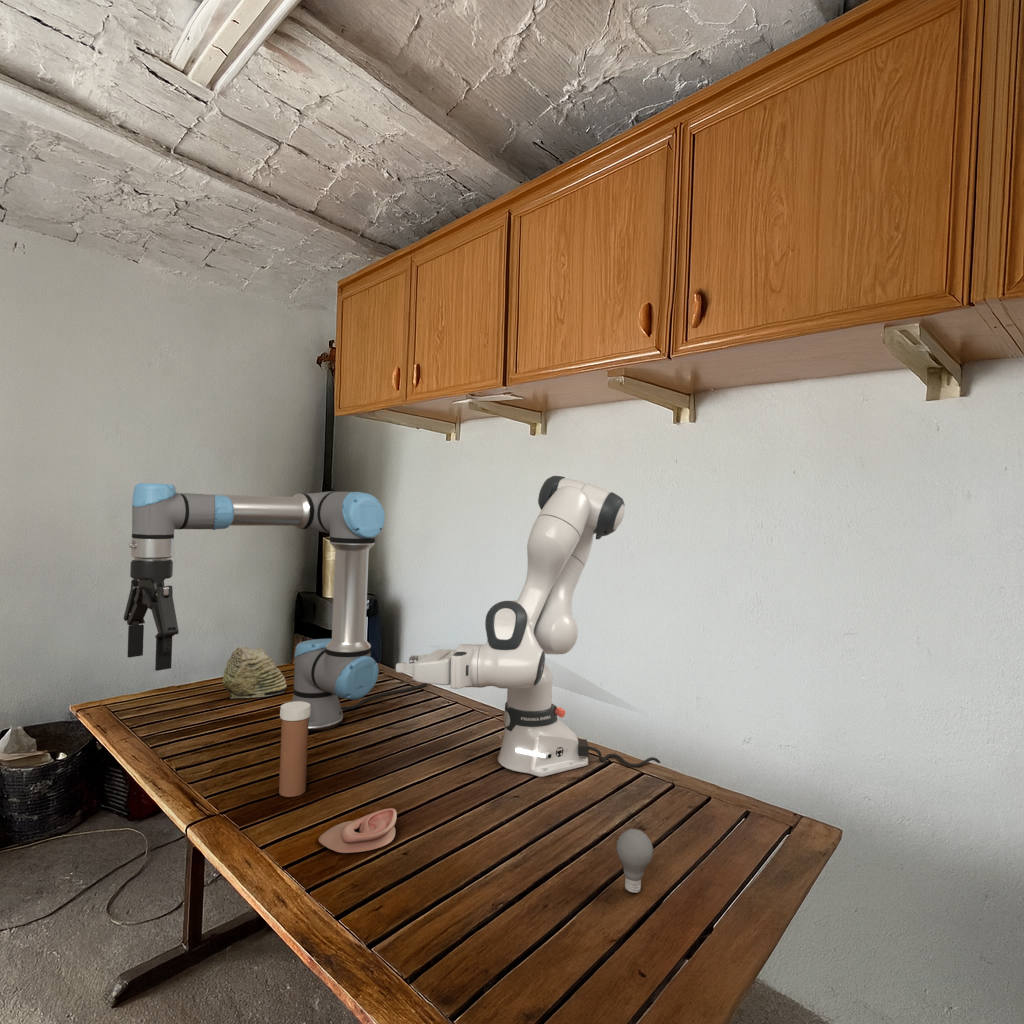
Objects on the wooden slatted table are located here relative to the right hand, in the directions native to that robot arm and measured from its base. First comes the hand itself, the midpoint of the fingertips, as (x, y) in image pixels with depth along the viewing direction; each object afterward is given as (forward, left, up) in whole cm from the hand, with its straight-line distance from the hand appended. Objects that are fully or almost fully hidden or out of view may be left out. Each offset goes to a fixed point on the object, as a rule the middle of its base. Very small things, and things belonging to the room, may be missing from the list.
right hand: (403, 663), depth 135 cm
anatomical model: (+11, +15, -29) cm, 34 cm away
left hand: (+49, -14, -1) cm, 51 cm away
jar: (+21, -9, -29) cm, 37 cm away
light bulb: (-30, +45, -29) cm, 61 cm away
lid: (+21, -9, -10) cm, 25 cm away
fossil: (+28, -79, -29) cm, 89 cm away
